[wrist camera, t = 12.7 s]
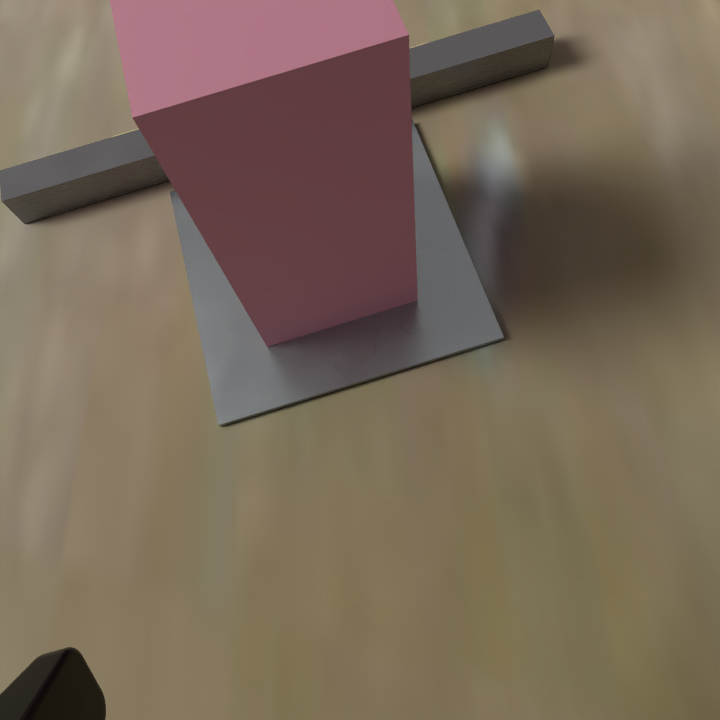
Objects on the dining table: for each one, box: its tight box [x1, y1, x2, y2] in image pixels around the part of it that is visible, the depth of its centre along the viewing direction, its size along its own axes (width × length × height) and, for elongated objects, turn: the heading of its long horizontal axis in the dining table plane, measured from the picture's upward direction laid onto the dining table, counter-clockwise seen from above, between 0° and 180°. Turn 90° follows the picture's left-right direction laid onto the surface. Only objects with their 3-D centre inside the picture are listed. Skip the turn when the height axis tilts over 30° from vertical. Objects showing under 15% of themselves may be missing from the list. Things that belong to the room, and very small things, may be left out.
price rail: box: [0, 10, 554, 427], centre depth 23 cm, size 22×12×2 cm, turn 106°
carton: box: [110, 0, 418, 347], centre depth 18 cm, size 6×6×11 cm
